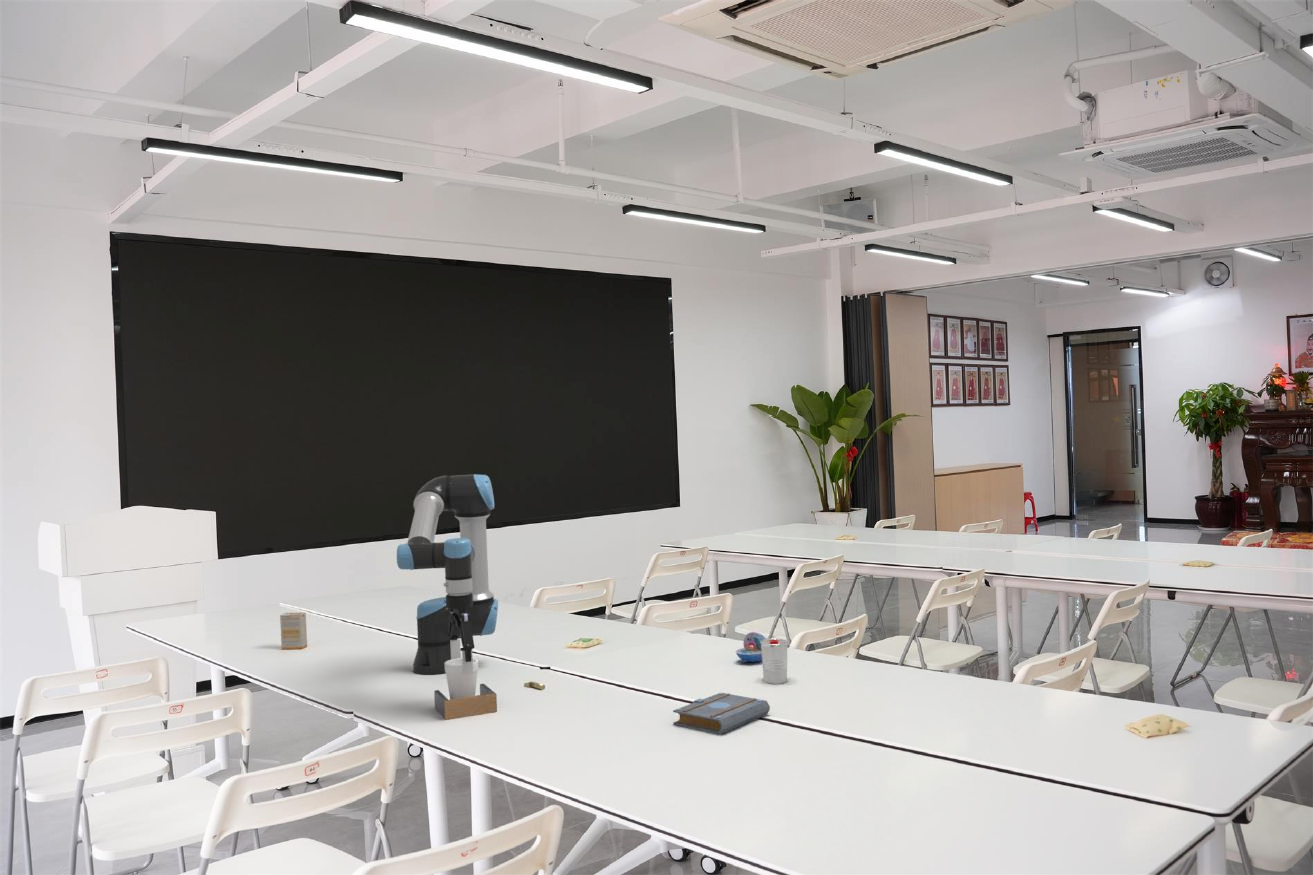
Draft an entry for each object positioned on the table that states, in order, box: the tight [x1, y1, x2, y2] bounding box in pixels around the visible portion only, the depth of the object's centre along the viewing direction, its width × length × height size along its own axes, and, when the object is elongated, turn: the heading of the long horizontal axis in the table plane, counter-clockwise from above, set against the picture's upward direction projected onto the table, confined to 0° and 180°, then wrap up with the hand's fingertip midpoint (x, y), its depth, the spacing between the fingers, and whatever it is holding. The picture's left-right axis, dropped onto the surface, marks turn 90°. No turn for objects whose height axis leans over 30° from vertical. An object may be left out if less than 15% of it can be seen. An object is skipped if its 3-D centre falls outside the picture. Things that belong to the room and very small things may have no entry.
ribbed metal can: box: [758, 638, 791, 685], centre depth 294 cm, size 10×8×12 cm
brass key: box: [523, 681, 546, 691], centre depth 295 cm, size 8×2×2 cm, turn 45°
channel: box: [433, 683, 498, 721], centre depth 273 cm, size 13×14×5 cm
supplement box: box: [279, 612, 308, 650], centre depth 366 cm, size 8×5×13 cm, turn 84°
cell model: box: [735, 631, 767, 663], centre depth 319 cm, size 10×12×10 cm
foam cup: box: [445, 657, 479, 700], centre depth 276 cm, size 10×9×13 cm
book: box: [672, 692, 771, 736], centre depth 256 cm, size 21×16×5 cm
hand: (461, 667), depth 276 cm, fingers open, 13 cm apart
